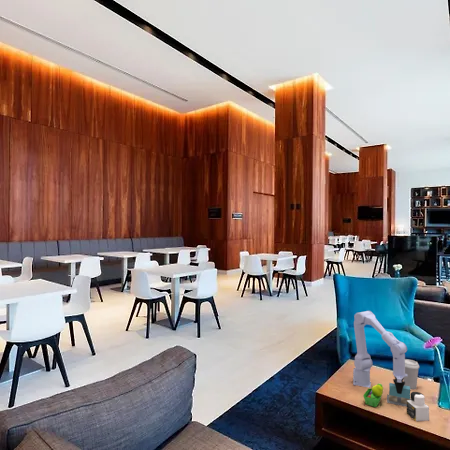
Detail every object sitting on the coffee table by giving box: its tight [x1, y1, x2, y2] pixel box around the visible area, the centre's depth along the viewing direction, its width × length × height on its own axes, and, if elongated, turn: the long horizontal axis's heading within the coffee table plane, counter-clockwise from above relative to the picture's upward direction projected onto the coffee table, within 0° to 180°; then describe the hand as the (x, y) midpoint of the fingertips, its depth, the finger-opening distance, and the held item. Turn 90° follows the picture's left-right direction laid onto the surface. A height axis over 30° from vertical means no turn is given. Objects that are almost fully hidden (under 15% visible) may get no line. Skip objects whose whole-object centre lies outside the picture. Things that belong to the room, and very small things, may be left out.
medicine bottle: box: [406, 391, 430, 422], centre depth 167 cm, size 7×7×12 cm
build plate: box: [386, 393, 411, 408], centre depth 182 cm, size 12×10×1 cm
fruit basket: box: [363, 383, 384, 408], centre depth 180 cm, size 11×9×11 cm
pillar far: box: [401, 397, 411, 404], centre depth 180 cm, size 4×4×3 cm
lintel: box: [388, 382, 411, 399], centre depth 182 cm, size 10×4×5 cm, turn 63°
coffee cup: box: [403, 358, 420, 390], centre depth 198 cm, size 10×10×15 cm
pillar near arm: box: [388, 394, 397, 402], centre depth 183 cm, size 4×4×3 cm
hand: (399, 390), depth 182 cm, fingers open, 7 cm apart
